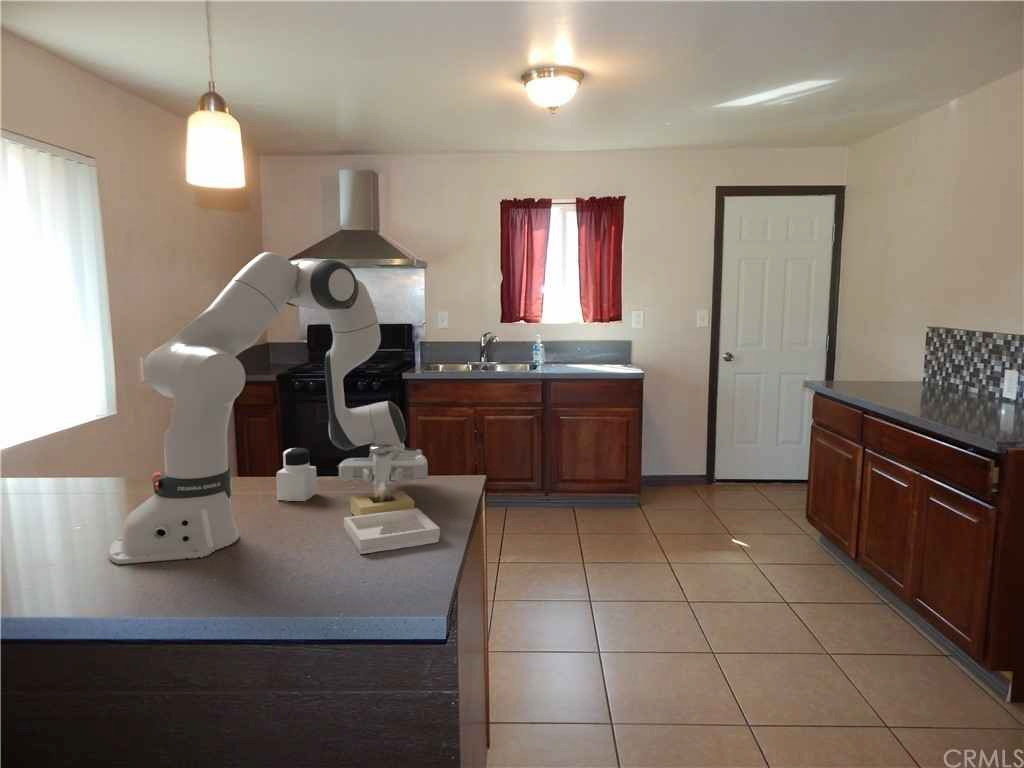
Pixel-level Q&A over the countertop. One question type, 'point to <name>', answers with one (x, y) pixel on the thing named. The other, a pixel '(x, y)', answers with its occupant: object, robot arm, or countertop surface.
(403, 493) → the block
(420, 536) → the tray
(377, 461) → the steel pin
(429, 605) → the countertop surface
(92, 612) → the countertop surface
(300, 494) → the medicine bottle
